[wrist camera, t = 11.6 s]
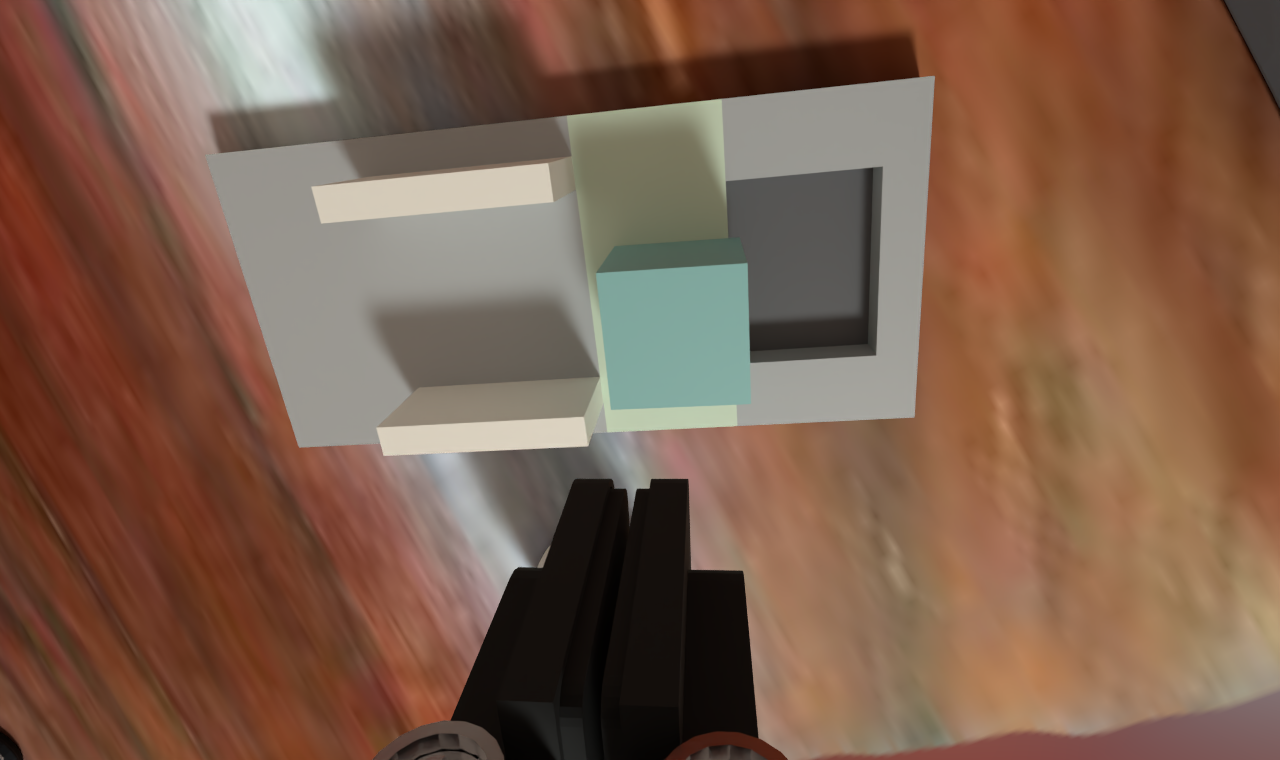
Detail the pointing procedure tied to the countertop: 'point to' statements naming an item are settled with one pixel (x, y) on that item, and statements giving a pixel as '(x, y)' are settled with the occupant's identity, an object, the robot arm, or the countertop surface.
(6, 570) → the countertop surface
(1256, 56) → the storage bin
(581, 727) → the robot arm
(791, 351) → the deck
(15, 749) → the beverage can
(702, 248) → the teal block
